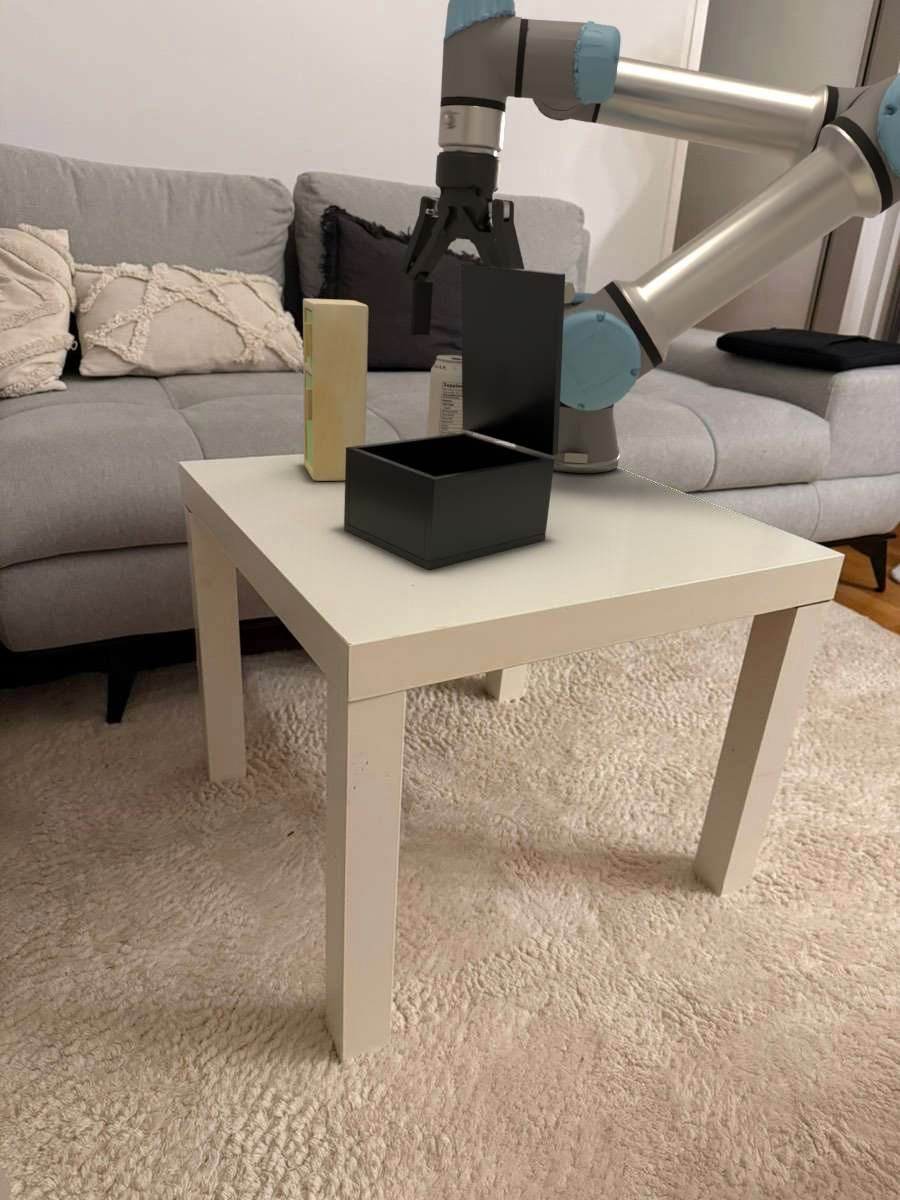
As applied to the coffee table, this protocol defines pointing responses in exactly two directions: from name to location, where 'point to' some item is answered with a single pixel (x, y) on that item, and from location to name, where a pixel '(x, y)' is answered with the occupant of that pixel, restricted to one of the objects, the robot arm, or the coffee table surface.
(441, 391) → the energy drink can
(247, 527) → the coffee table surface
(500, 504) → the black box
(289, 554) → the coffee table surface
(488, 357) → the box lid
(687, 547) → the coffee table surface
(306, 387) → the toy refrigerator
